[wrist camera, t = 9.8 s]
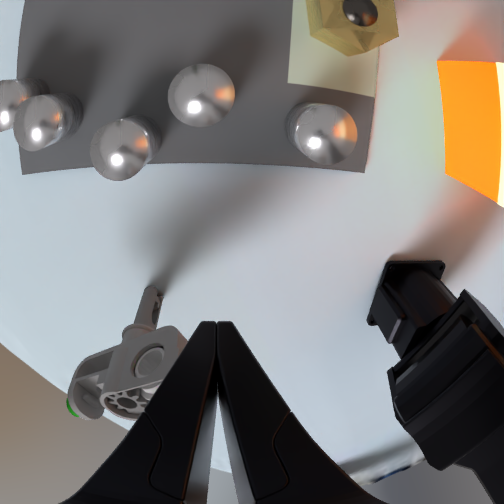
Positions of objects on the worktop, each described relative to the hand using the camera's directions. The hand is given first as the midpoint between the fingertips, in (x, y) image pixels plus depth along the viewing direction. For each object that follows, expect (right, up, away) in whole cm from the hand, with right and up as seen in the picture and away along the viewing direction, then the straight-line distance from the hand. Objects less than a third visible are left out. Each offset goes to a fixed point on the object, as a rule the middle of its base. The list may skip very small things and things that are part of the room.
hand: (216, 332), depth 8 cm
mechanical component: (-6, -1, +14) cm, 15 cm away
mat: (-3, +16, +5) cm, 16 cm away
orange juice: (+18, +13, +9) cm, 24 cm away
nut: (+6, +16, +5) cm, 18 cm away
